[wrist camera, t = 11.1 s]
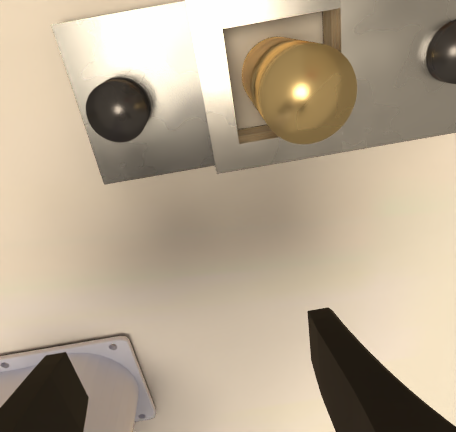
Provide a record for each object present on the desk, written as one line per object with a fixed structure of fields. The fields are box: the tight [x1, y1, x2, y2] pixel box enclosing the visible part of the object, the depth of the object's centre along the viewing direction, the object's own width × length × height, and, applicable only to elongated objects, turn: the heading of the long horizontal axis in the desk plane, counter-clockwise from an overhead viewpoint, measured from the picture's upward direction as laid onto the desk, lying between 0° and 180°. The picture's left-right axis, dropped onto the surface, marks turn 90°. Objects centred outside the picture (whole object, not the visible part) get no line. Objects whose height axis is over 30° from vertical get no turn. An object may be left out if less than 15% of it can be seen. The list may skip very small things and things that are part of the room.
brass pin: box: [242, 37, 357, 144], centre depth 15 cm, size 3×3×6 cm
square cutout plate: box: [51, 0, 456, 184], centre depth 16 cm, size 18×7×3 cm, turn 99°
